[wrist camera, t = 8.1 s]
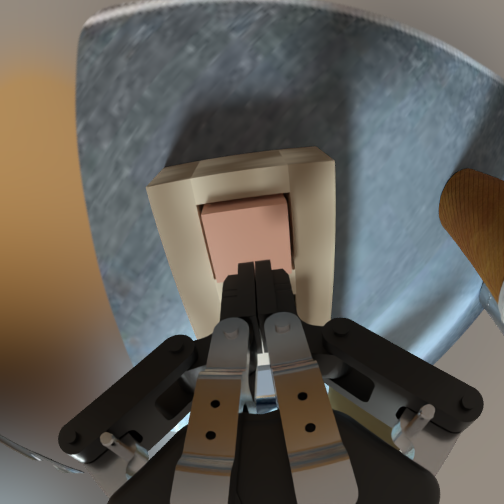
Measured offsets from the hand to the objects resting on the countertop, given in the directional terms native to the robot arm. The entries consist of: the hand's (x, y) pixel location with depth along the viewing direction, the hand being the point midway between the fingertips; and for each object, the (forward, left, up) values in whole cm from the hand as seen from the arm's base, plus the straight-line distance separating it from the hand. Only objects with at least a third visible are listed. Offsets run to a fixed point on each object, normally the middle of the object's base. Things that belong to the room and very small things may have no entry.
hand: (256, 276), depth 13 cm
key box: (0, +7, -7) cm, 10 cm away
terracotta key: (0, 0, -6) cm, 6 cm away
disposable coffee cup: (-19, +1, -8) cm, 20 cm away
